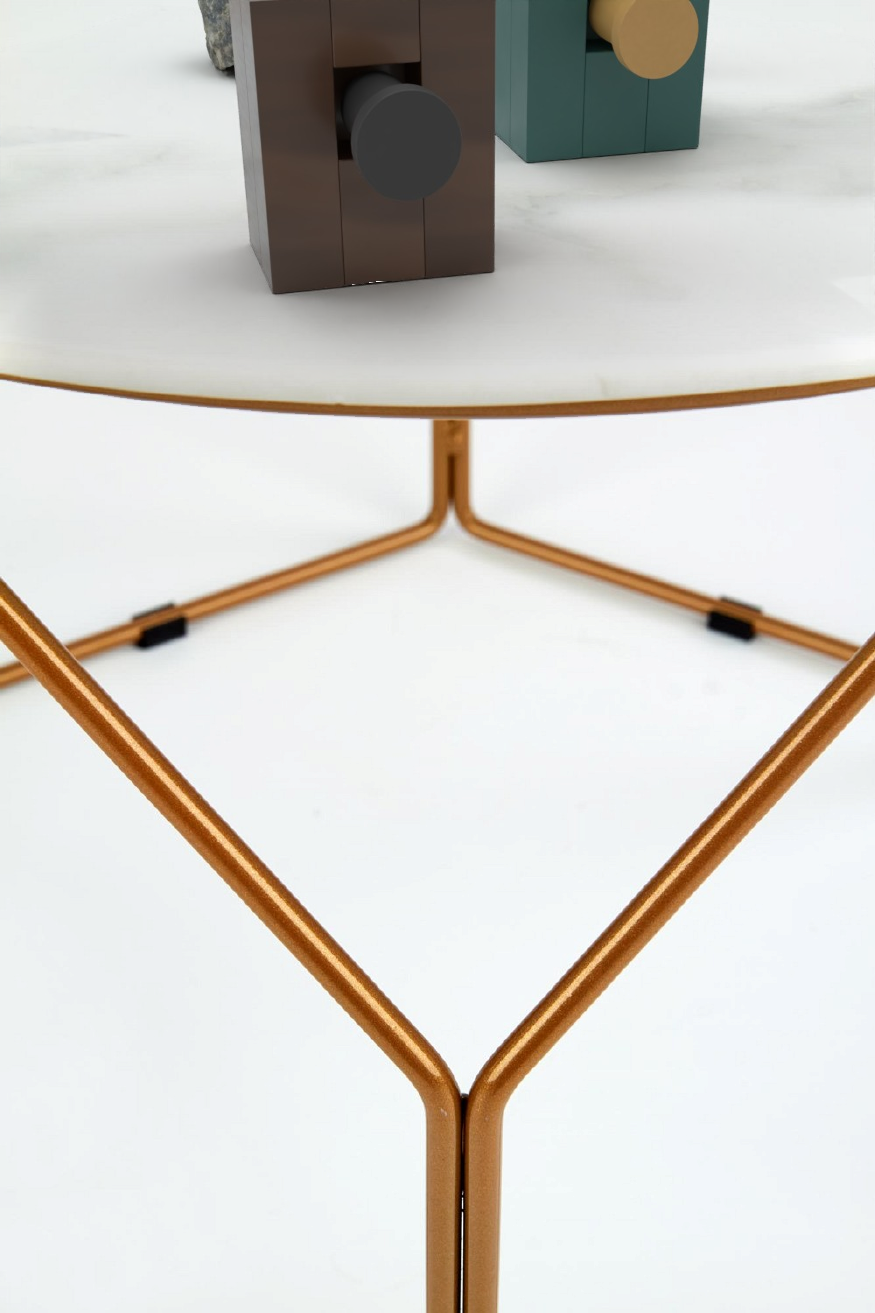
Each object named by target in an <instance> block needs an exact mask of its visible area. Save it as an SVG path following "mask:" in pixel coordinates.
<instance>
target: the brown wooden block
mask: <svg viewBox="0 0 875 1313" xmlns="http://www.w3.org/2000/svg"><path fill="white" fill-rule="evenodd" d="M229 9H230V20H231V32H232V43H233V55H234V65H233V66H234V75H235V76H234V77H235V78H234V79H235V86H236V88H235V90H236V100H237V111H238V112H237V113H238V122H239V123H238V124H239V132H240V133H239V134H240V135H239V136H240V145H241V156H242V157H241V158H242V168H243V179H244V192H245V202H246V203H245V204H246V213H247V226H248V237H249V243H250V246H251V247H252V250H253V252H254V254H255V256H256V259H257V261H258V263H259V265H260V268H261V270H262V272H263V274H264V276H265V279H266V281H267V283H268V285H269V288H270V290H271V293H272V294H284V293H293V292H294V293H295V292H304V291H313V290H323V288H324V289H333V288H343V287H342V286H344V287H349V286H348V285H352V284H362V285H364V284H363V283H369V282H376V281H392V282H401V280H402V281H411V279H412V280H420V279H421V280H423V279H434V278H440V277H441V278H443V277H452V276H453V277H454V276H461V275H462V276H463V275H471V274H472V275H473V274H482V273H491V272H493V273H494V272H495V267H496V266H495V265H496V264H495V263H496V261H495V260H496V258H495V255H496V254H495V253H496V252H495V251H496V249H495V248H496V247H495V246H496V242H495V240H496V238H495V237H496V236H495V235H496V234H495V231H496V229H495V228H496V221H495V220H496V134H495V34H496V0H229ZM368 71H384V72H387V73H389V74H391V75H393V76H394V77H396V78H397V79H398V80H399V81H400V82H401V83H402V84H415V85H419V86H422V87H425V88H427V89H429V90H431V91H432V92H434V93H435V94H436V95H438V96H439V97H440V98H441V99H442V100H443V101H444V102H445V103H446V104H447V105H448V106H449V107H450V108H451V110H452V111H453V113H454V114H455V116H456V118H457V120H458V123H459V126H460V129H461V134H462V150H461V156H460V159H459V163H458V165H457V167H456V170H455V171H454V173H453V175H452V176H451V178H450V179H449V180H448V182H447V183H446V184H445V185H444V186H443V187H442V188H440V189H439V190H438V191H437V192H435V193H433V194H432V195H430V196H427V197H425V198H422V199H419V200H414V201H398V200H394V199H390V198H388V197H385V196H383V195H381V194H380V193H378V192H377V191H376V190H374V189H373V188H372V187H371V186H370V185H369V184H368V182H367V181H366V180H365V178H364V177H363V176H362V174H361V173H360V172H359V170H358V168H357V166H356V164H355V161H354V159H353V155H352V150H351V133H350V132H349V131H348V129H347V128H346V126H345V124H344V122H343V119H342V116H341V100H342V96H343V93H344V91H345V89H346V87H347V86H348V85H349V83H350V82H351V81H352V80H353V79H354V78H356V77H357V76H358V75H360V74H362V73H365V72H368ZM352 286H353V285H352Z"/></svg>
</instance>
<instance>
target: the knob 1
mask: <svg viewBox="0 0 875 1313" xmlns="http://www.w3.org/2000/svg"><path fill="white" fill-rule="evenodd" d="M341 116H342V119H343V122H344V124H345V126H346V128H347V129H348V131H349V132H350V133H351V150H352V155H353V159H354V161H355V164H356V166H357V168H358V170H359V172H360V173H361V174H362V176H363V177H364V178H365V180H366V181H367V182H368V184H369V185H370V186H371V187H372V188H373V189H374V190H376V191H377V192H378V193H380V194H381V195H383V196H385V197H388V198H390V199H394V200H398V201H414V200H419V199H422V198H425V197H427V196H430V195H432V194H433V193H435V192H437V191H438V190H439V189H440V188H442V187H443V186H444V185H445V184H446V183H447V182H448V180H449V179H450V178H451V176H452V175H453V173H454V171H455V170H456V167H457V165H458V163H459V159H460V156H461V150H462V134H461V129H460V126H459V123H458V120H457V118H456V116H455V114H454V113H453V111H452V110H451V108H450V107H449V106H448V105H447V104H446V103H445V102H444V101H443V100H442V99H441V98H440V97H439V96H438V95H436V94H435V93H434V92H432V91H431V90H429V89H427V88H425V87H422V86H419V85H415V84H402V83H401V82H400V81H399V80H398V79H397V78H396V77H394V76H393V75H391V74H389V73H387V72H384V71H368V72H365V73H362V74H360V75H358V76H357V77H356V78H354V79H353V80H352V81H351V82H350V83H349V85H348V86H347V87H346V89H345V91H344V93H343V96H342V100H341Z"/></svg>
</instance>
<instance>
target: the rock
mask: <svg viewBox="0 0 875 1313" xmlns="http://www.w3.org/2000/svg"><path fill="white" fill-rule="evenodd" d="M197 4H198V8H199V10H200V14H201V17H202V23H203V31H204V33H205V47H206V51H207V53H208V56H209V58H210V60H211V63H212V65H213V66H214V68H218V69H219V70H220V71H225V70H226V69H227V68H230V67H232V66H234V55H233V43H232V32H231V20H230V9H229V0H197Z"/></svg>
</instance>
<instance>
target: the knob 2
mask: <svg viewBox="0 0 875 1313" xmlns="http://www.w3.org/2000/svg"><path fill="white" fill-rule="evenodd" d="M588 14H589V22H590V25H591V27H592V29H593V30H594V32H595V33H596V34H597V35H598V36H600V37H601V38H603V39H605V40H606V41H608V42H610V43H611V44H612V45H613V49H614V52H615V54H616V56H617V58H618V60H619V61H620V62H621V64H622V65H623V66H624V67H625V68H627V69H628V70H630V71H631V72H633V73H635V74H636V75H638V76H640V77H643V78H648V79H659V78H663V77H666V76H669V75H671V74H673V73H674V72H676V71H677V70H678V69H680V68H681V67H682V66H683V65H684V64H685V63H686V61H687V60H688V59H689V57H690V56H691V54H692V52H693V50H694V48H695V45H696V42H697V38H698V19H697V15H696V12H695V9H694V7H693V6H692V4H691V3H690V1H689V0H591V2H590V5H589V12H588Z"/></svg>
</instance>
